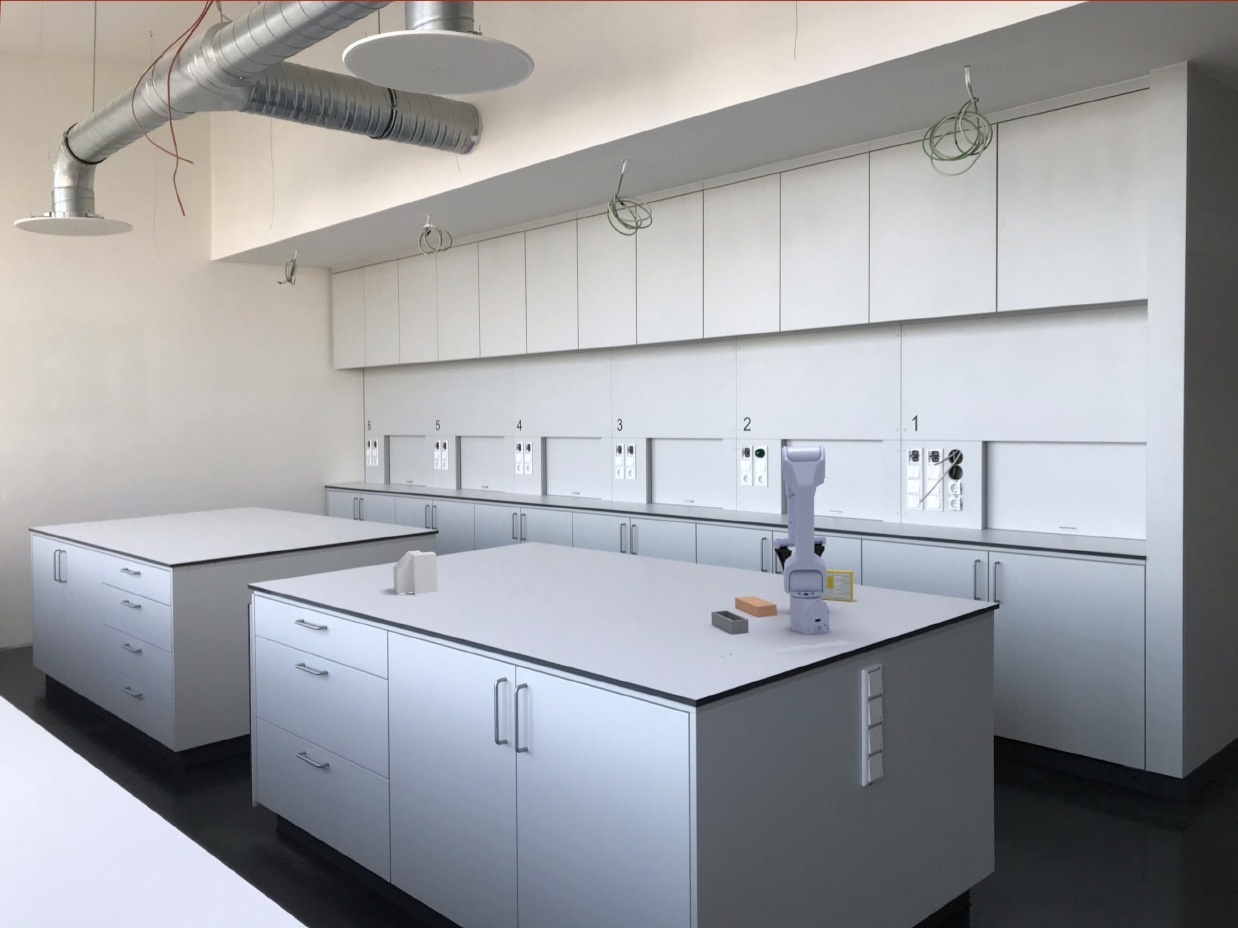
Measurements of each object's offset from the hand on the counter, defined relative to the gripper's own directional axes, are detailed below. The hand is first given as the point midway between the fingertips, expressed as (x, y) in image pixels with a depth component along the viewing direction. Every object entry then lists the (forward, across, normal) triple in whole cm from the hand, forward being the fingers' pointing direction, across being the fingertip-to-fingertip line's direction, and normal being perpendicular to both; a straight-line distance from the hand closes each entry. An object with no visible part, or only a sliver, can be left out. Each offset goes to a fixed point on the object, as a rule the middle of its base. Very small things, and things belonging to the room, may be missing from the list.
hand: (800, 574), depth 247 cm
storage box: (+10, +26, +12) cm, 30 cm away
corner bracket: (+10, +89, -77) cm, 118 cm away
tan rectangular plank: (+10, +12, -2) cm, 16 cm away
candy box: (+10, -14, -12) cm, 21 cm away
